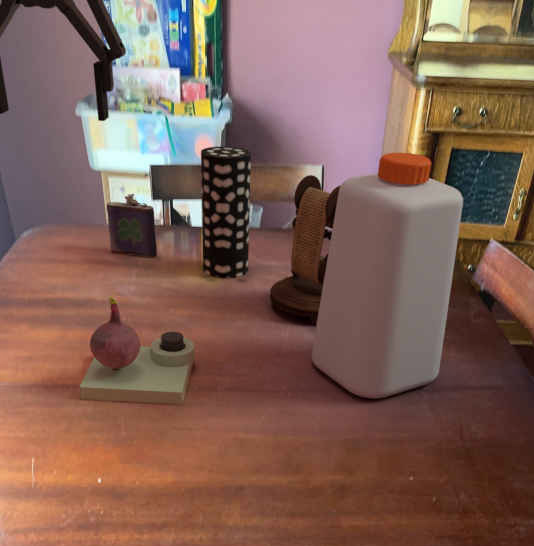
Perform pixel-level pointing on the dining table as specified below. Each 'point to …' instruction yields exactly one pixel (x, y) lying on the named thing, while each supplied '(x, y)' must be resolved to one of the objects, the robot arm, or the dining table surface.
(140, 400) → the scale
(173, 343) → the button
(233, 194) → the white-spotted black cylinder
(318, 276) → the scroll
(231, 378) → the dining table surface
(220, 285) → the dining table surface
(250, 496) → the dining table surface
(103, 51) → the robot arm
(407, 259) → the plastic bottle
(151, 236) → the flask
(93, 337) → the vegetable
